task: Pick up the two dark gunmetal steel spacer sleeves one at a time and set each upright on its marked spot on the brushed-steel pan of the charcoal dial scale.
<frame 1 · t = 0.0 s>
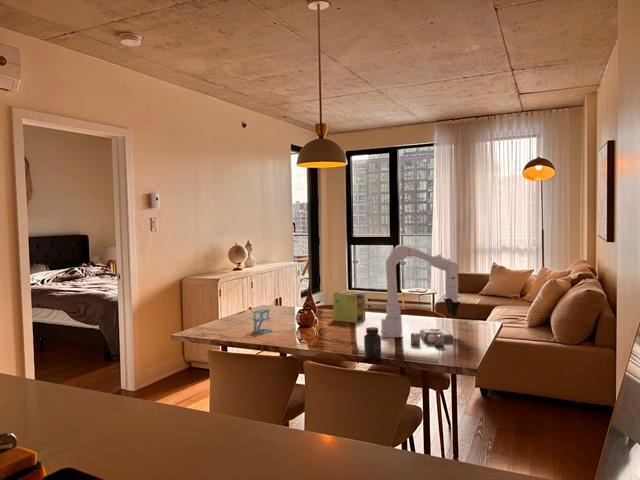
hand: (451, 314, 234), 10 cm above the table, fingers open, 7 cm apart
scale: (436, 339, 227), on the table
spacer a: (415, 345, 218), on the table
teal open frame stand: (261, 332, 250), on the table
supplement bottle: (372, 357, 199), on the table
spacer b: (439, 346, 214), on the table
protein box: (349, 320, 276), on the table
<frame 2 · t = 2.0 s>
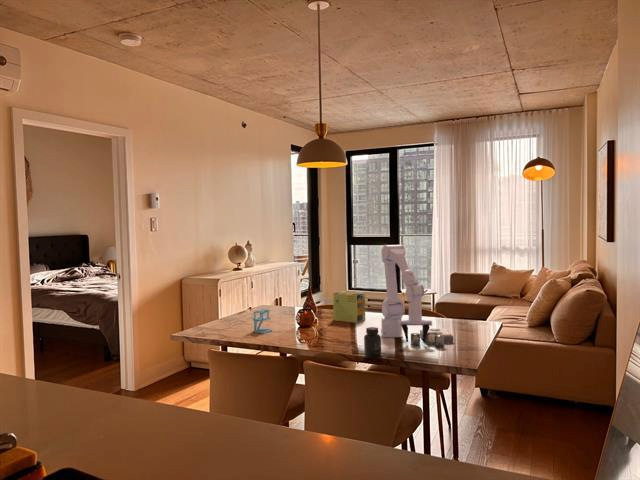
hand: (415, 341, 218), 2 cm above the table, fingers open, 7 cm apart
nothing on the table moved.
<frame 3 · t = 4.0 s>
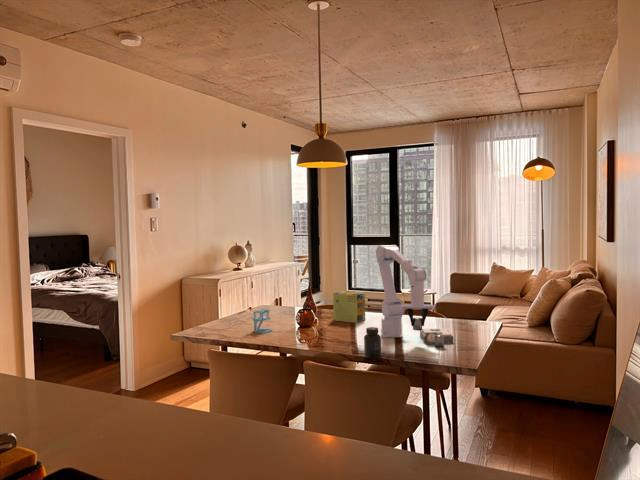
hand: (417, 325, 219), 8 cm above the table, fingers closed on spacer a, 4 cm apart
spacer a: (417, 329, 219), point 7 cm above the table, touching gripper
everything else where it was.
when the fingers open (6 cm above the table, at t = 5.6 s): spacer a stays where it is, resting on scale.
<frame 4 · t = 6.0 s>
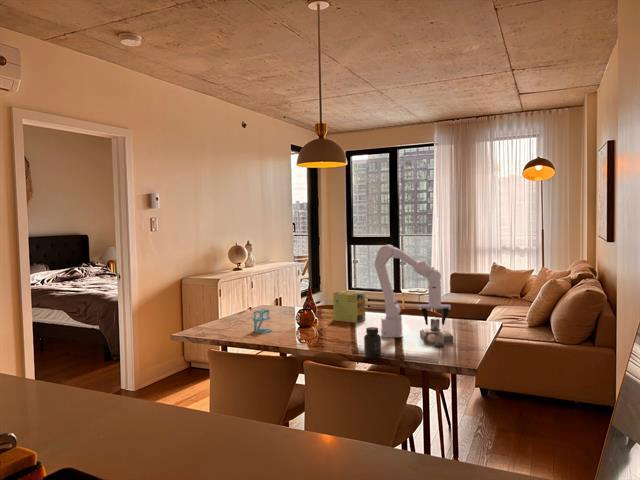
hand: (434, 324, 230), 6 cm above the table, fingers open, 7 cm apart
spacer a: (435, 330, 230), point 4 cm above the table, touching scale
everything else where it was.
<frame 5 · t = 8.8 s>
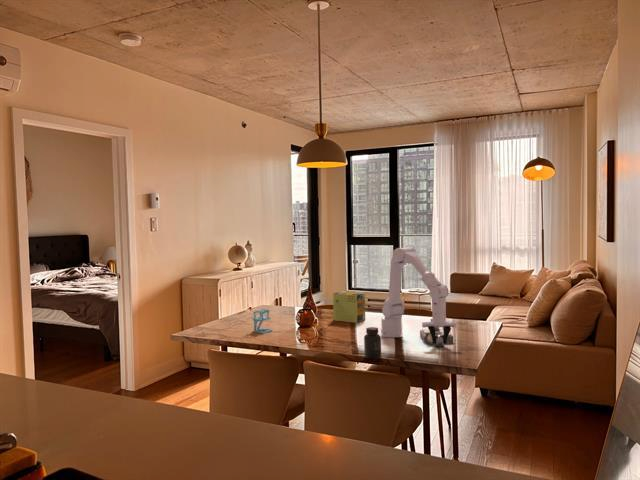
hand: (439, 343, 214), 1 cm above the table, fingers closed on spacer b, 4 cm apart
spacer b: (439, 346, 214), on the table, touching gripper
everything else where it was.
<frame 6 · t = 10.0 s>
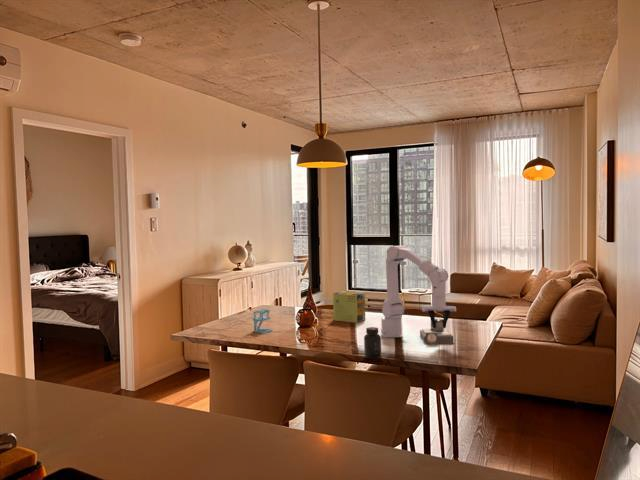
hand: (439, 327, 215), 8 cm above the table, fingers closed on spacer b, 4 cm apart
spacer b: (439, 331, 215), point 7 cm above the table, touching gripper
everything else where it was.
when the fingers open (6 cm above the table, at t = 11.3 s): spacer b stays where it is, resting on scale.
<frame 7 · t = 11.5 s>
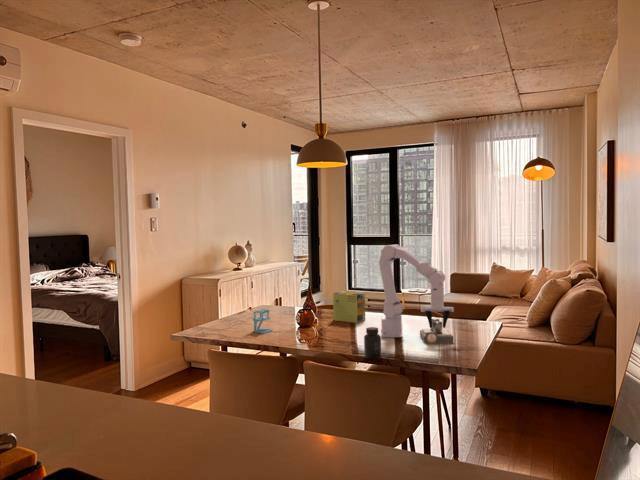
hand: (437, 327, 224), 6 cm above the table, fingers open, 5 cm apart
spacer b: (437, 332, 224), point 4 cm above the table, touching scale
everything else where it was.
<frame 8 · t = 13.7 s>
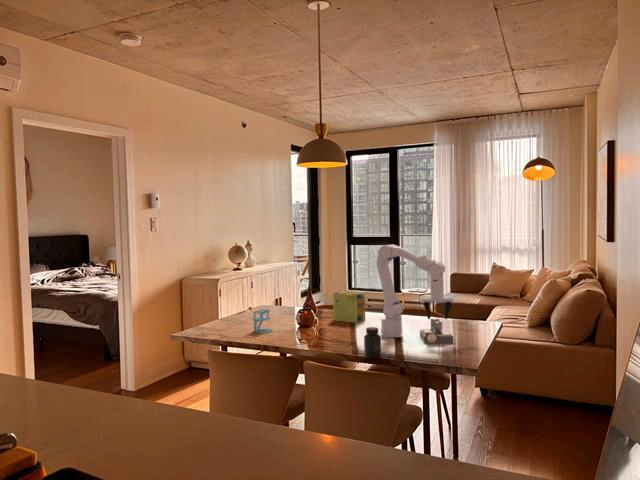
hand: (437, 318, 224), 10 cm above the table, fingers open, 7 cm apart
nothing on the table moved.
at the end: spacer a inside the target area on the scale (0.8 cm from its centre), point 3.9 cm above the scale's base; spacer b inside the target area on the scale (0.1 cm from its centre), point 3.9 cm above the scale's base; spacer b tilted 0° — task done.
